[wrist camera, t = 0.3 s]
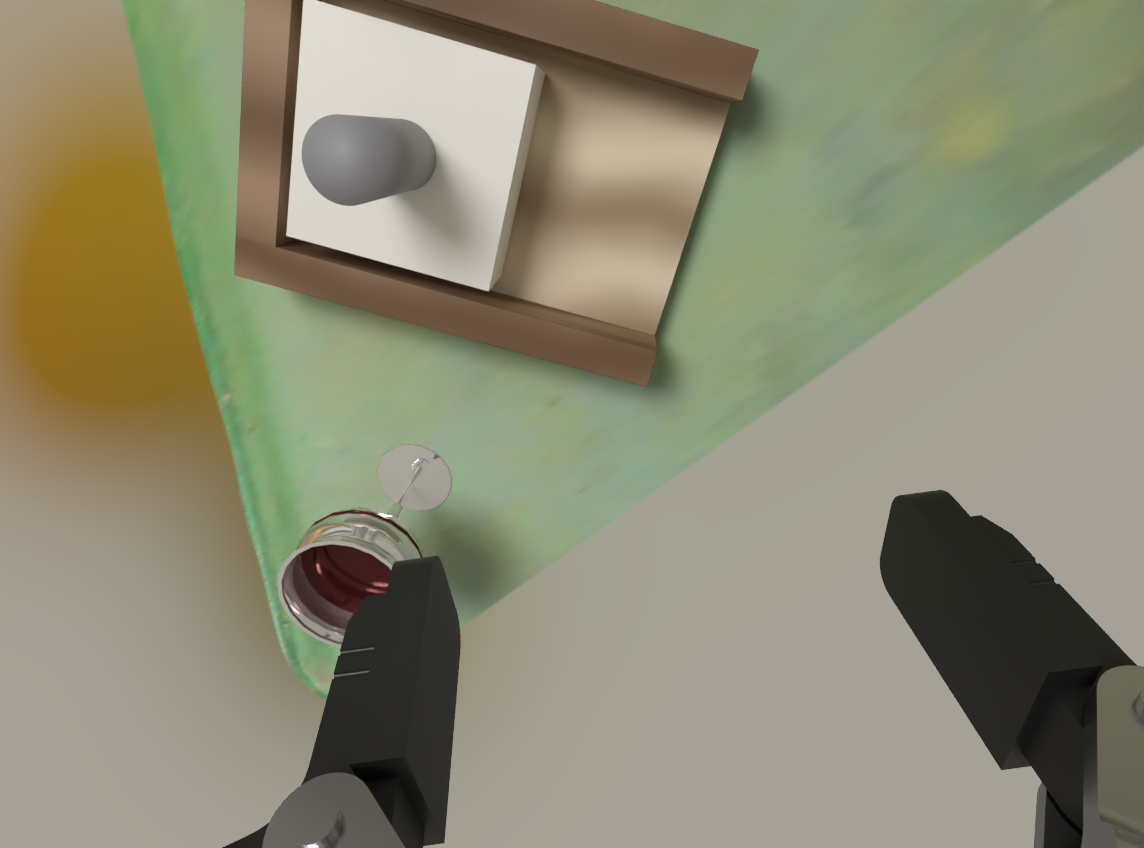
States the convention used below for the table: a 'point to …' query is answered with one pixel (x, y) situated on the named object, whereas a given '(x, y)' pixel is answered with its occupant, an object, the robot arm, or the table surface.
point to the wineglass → (359, 546)
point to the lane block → (408, 145)
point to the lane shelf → (550, 182)
